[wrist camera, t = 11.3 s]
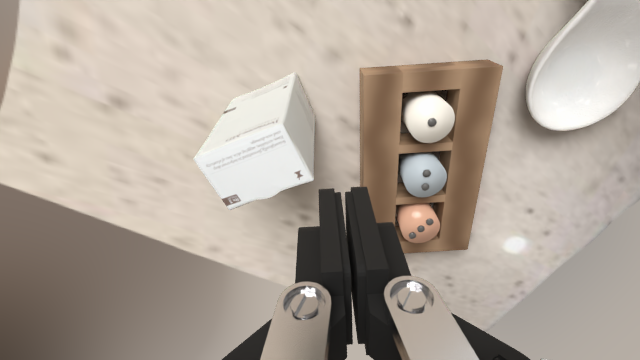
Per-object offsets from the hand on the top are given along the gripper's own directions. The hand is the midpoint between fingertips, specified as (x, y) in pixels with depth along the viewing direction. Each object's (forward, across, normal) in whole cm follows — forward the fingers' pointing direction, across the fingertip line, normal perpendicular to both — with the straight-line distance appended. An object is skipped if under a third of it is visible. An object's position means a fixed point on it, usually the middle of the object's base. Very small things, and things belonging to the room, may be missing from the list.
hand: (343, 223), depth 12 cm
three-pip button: (+29, -11, +20) cm, 37 cm away
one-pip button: (+29, -11, +6) cm, 31 cm away
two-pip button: (+29, -11, +13) cm, 34 cm away
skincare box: (+29, +6, +5) cm, 30 cm away
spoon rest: (+30, -26, -3) cm, 40 cm away
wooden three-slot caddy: (+29, -11, +13) cm, 34 cm away
